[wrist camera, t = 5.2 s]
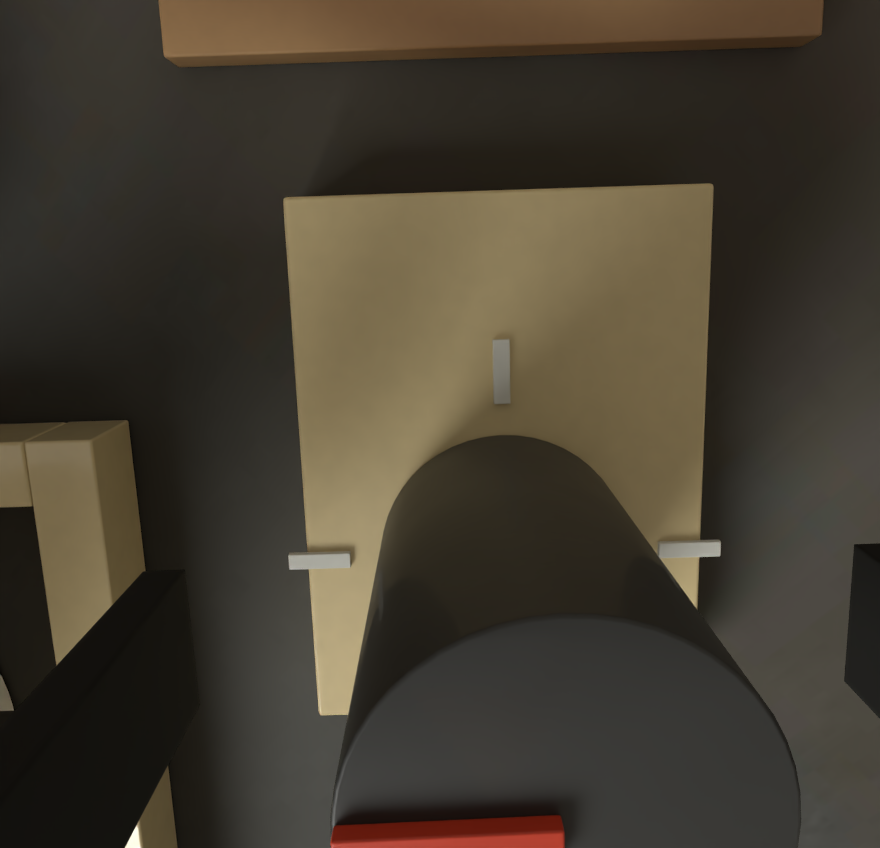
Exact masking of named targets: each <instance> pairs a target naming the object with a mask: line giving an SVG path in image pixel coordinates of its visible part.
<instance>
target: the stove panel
mask: <svg viewBox="0 0 880 848" xmlns="http://www.w3.org/2000/svg"><path fill="white" fill-rule="evenodd" d="M713 190H714V187H713V184H710V183H703V184H673V185H642V186H611V187H580V188H550V189H519V190H488V191H457V192H427V193H396V194H365V195H335V196H304V197H286V198H284V200H283V208H284V223H285V237H286V251H287V266H288V280H289V294H290V308H291V323H292V337H293V351H294V365H295V380H296V394H297V408H298V423H299V437H300V451H301V465H302V480H303V494H304V508H305V523H306V537H307V551H308V552H300V553H289V555H288V558H289V569H290V570H296V569H309V580H310V594H311V608H312V622H313V637H314V651H315V665H316V680H317V694H318V708H319V713H320V715H348V713H349V708H350V702H351V697H352V692H353V687H354V682H355V676H356V671H357V666H358V661H359V656H360V651H361V645H362V640H363V635H364V630H365V625H366V619H367V614H368V609H369V604H370V599H371V593H372V588H373V583H374V578H375V573H376V567H377V562H378V557H379V552H380V547H381V541H382V536H383V531H384V527H385V524H386V520H387V517H388V514H389V512H390V510H391V507H392V505H393V503H394V501H395V499H396V497H397V496H398V494H399V493H400V491H401V489H402V488H403V487H404V485H405V484H406V483H407V482H408V480H409V479H410V478H411V477H412V475H414V474H415V473H416V472H417V471H418V470H419V469H420V468H421V467H422V466H423V465H424V464H425V463H427V462H428V461H430V460H431V459H432V458H434V457H435V456H437V455H438V454H440V453H442V452H444V451H445V450H447V449H449V448H451V447H453V446H456V445H458V444H461V443H464V442H466V441H469V440H474V439H478V438H482V437H488V436H497V435H518V436H525V437H532V438H536V439H540V440H543V441H547V442H550V443H552V444H555V445H557V446H559V447H562V448H564V449H566V450H568V451H569V452H571V453H573V454H574V455H576V456H578V457H579V458H580V459H582V460H583V461H584V462H585V463H587V464H588V465H589V466H590V467H591V468H592V469H593V470H594V471H595V472H596V473H597V474H598V475H599V476H600V477H601V478H602V479H603V481H604V482H605V483H606V485H607V486H608V487H609V489H610V490H611V492H612V493H613V494H614V496H615V497H616V498H617V500H618V501H619V503H620V504H621V505H622V507H623V508H624V509H625V511H626V512H627V514H628V515H629V516H630V518H631V519H632V520H633V522H634V523H635V525H636V526H637V527H638V529H639V530H640V532H641V533H642V534H643V536H644V537H645V538H646V540H647V541H648V543H649V544H650V545H651V547H652V548H653V549H654V551H655V552H656V554H657V555H658V556H659V558H660V559H661V560H662V562H663V563H664V565H665V566H666V567H667V569H668V570H669V571H670V573H671V574H672V576H673V577H674V578H675V580H676V581H677V582H678V584H679V585H680V587H681V588H682V589H683V591H684V592H685V593H686V595H687V596H688V598H689V599H690V600H691V602H692V603H693V604H694V606H695V607H696V609H697V608H698V582H699V557H716V556H720V554H721V541H720V540H700V530H701V503H702V477H703V451H704V425H705V399H706V373H707V347H708V321H709V295H710V269H711V243H712V216H713Z"/></svg>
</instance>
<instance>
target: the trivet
mask: <svg viewBox="0 0 880 848" xmlns="http://www.w3.org/2000/svg"><path fill="white" fill-rule="evenodd" d="M158 1H159V11H160V22H161V32H162V43H163V53H164V56H165V58H167V59H168V60H169V61H171V62H172V63H174V64H175V65H176V66H178V67H202V66H232V65H262V64H292V63H322V62H353V61H383V60H413V59H443V58H474V57H504V56H534V55H564V54H594V53H625V52H655V51H685V50H715V49H745V48H776V47H801V46H803V45H805V44H806V43H808V42H810V41H812V40H813V39H815V38H817V37H819V36H821V34H822V22H823V7H824V0H158Z"/></svg>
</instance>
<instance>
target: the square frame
mask: <svg viewBox="0 0 880 848" xmlns="http://www.w3.org/2000/svg"><path fill="white" fill-rule="evenodd" d="M31 506H33V507H34V514H35V521H36V528H37V535H38V542H39V549H40V556H41V563H42V570H43V577H44V584H45V590H46V597H47V604H48V611H49V618H50V625H51V632H52V639H53V646H54V653H55V660H56V666H57V665H58V663H59V662H60V661H61V660H62V659H63V658H64V657H65V656H66V655H67V654H68V653H69V651H70V650H71V649H72V648H73V647H74V646H75V645H76V644H77V643H78V642H79V641H80V640H81V638H82V637H83V636H84V635H85V634H86V633H87V632H88V631H89V630H90V629H91V628H92V626H93V625H94V624H95V623H96V622H97V621H98V620H99V619H100V618H101V617H102V616H103V615H104V613H105V612H106V611H107V610H108V609H109V608H110V607H111V606H112V605H113V604H114V603H115V601H116V600H117V599H118V598H119V597H120V596H121V595H122V594H123V593H124V592H125V591H126V589H127V588H128V587H129V586H130V585H131V584H132V583H133V582H134V581H135V580H136V579H137V578H138V576H139V575H140V574H141V573H142V572H143V571H146V570H145V562H144V553H143V544H142V536H141V527H140V518H139V510H138V501H137V493H136V484H135V475H134V467H133V458H132V449H131V441H130V432H129V423H128V421H127V420H111V421H80V422H68V423H64V422H53V423H22V424H0V508H3V507H31ZM125 848H177V839H176V830H175V822H174V813H173V804H172V796H171V787H170V778H169V770H168V766H167V768H166V770H165V772H164V774H163V776H162V778H161V780H160V782H159V783H158V785H157V787H156V789H155V791H154V793H153V795H152V797H151V799H150V801H149V803H148V804H147V806H146V808H145V810H144V812H143V814H142V816H141V818H140V820H139V822H138V824H137V825H136V827H135V829H134V831H133V833H132V835H131V837H130V839H129V841H128V843H127V845H126V846H125Z"/></svg>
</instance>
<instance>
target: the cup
mask: <svg viewBox="0 0 880 848" xmlns="http://www.w3.org/2000/svg"><path fill="white" fill-rule="evenodd" d="M0 711H14V709H13V704H12V701H11V698H10V695H9V692H8V690H7V687H6V685H5V683H4V681H3V678H2V676H1V675H0Z"/></svg>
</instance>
